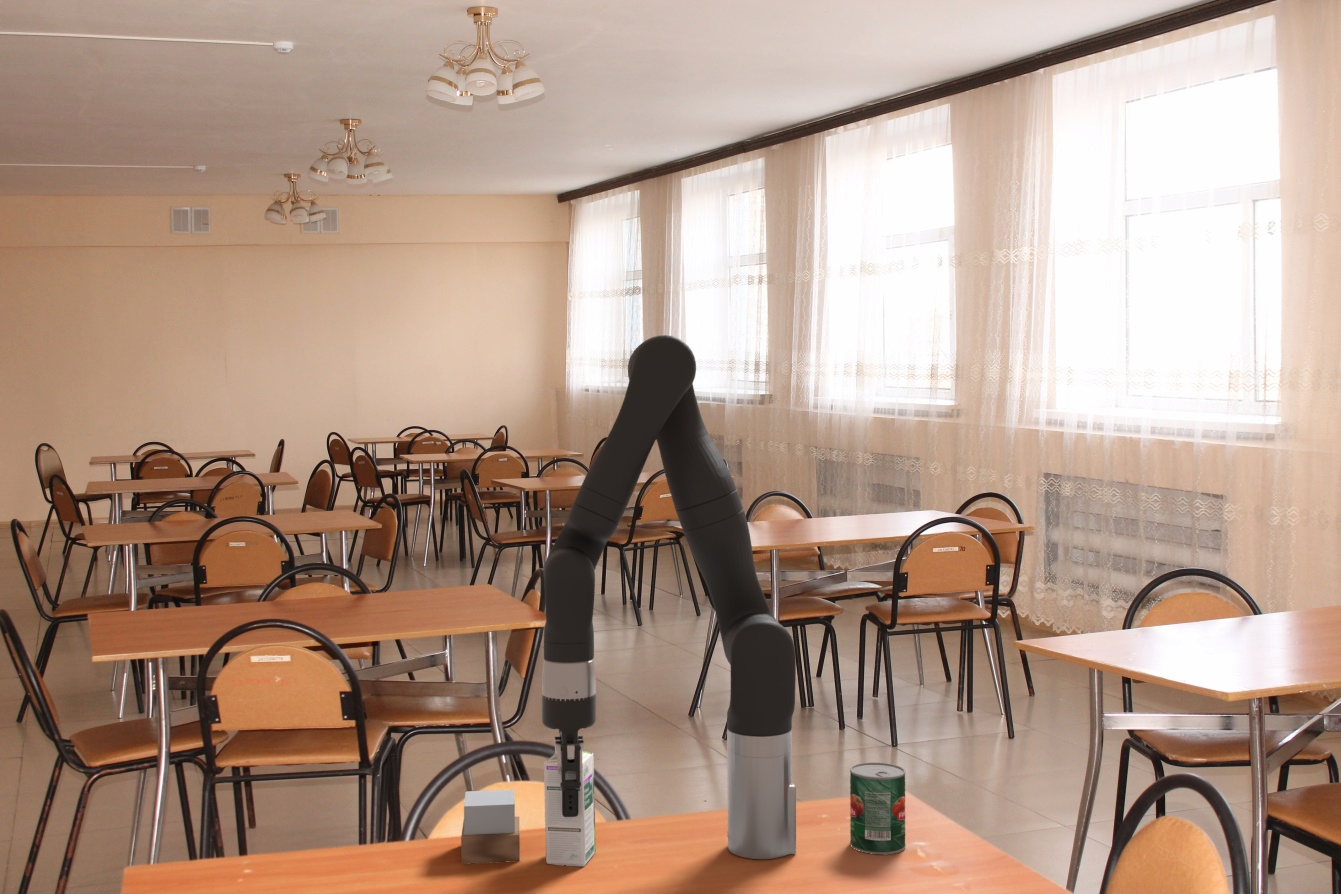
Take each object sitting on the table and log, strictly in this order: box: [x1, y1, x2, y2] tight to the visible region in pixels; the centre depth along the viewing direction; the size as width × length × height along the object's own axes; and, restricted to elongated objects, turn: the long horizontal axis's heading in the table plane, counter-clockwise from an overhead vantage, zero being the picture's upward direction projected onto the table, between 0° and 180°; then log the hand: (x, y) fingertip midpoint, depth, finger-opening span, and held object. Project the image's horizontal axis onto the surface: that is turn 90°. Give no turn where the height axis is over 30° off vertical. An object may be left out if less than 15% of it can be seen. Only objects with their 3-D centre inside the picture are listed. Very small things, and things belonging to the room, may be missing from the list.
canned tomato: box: [849, 762, 906, 856], centre depth 171 cm, size 8×8×11 cm
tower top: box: [463, 789, 516, 835], centre depth 170 cm, size 7×7×4 cm
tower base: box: [460, 816, 521, 865], centre depth 169 cm, size 8×8×4 cm
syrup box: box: [543, 750, 597, 868], centre depth 167 cm, size 6×6×14 cm
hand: (569, 806), depth 167 cm, fingers open, 8 cm apart
